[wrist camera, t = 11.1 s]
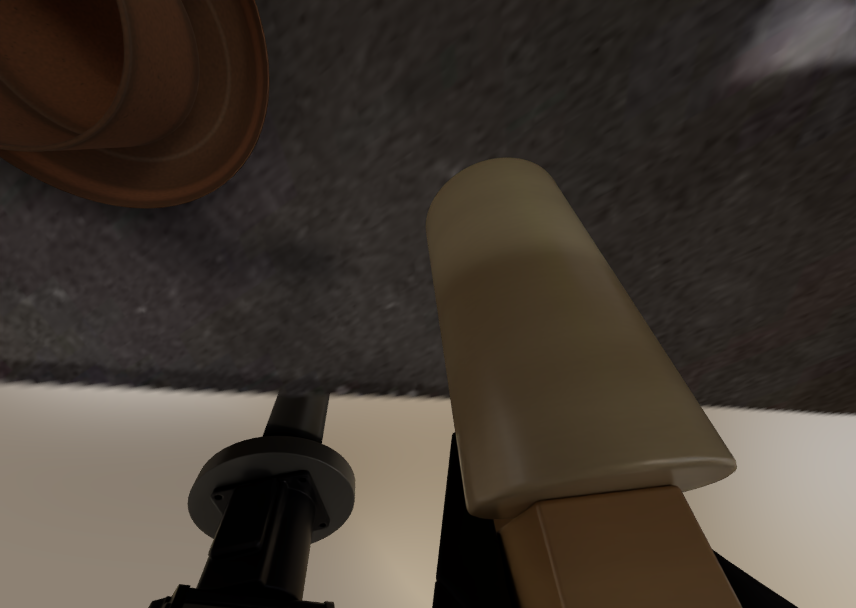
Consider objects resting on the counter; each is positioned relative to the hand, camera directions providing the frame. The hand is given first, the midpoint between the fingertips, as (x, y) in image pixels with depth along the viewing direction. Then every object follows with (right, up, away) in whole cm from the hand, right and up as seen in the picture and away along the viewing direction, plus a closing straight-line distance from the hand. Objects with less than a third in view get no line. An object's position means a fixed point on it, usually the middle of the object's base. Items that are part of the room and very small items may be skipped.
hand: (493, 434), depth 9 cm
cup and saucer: (-14, +14, +5) cm, 20 cm away
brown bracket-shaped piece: (0, +4, +1) cm, 4 cm away
